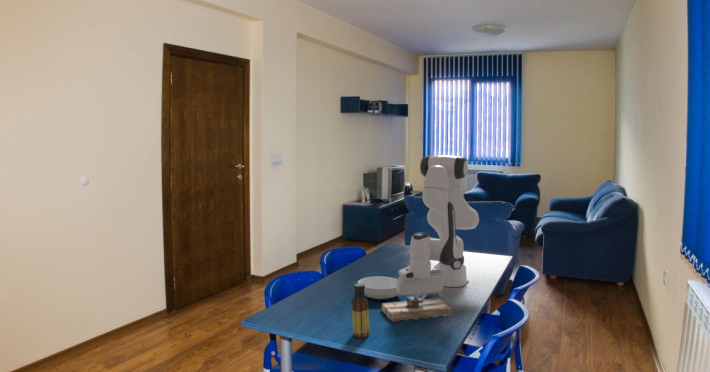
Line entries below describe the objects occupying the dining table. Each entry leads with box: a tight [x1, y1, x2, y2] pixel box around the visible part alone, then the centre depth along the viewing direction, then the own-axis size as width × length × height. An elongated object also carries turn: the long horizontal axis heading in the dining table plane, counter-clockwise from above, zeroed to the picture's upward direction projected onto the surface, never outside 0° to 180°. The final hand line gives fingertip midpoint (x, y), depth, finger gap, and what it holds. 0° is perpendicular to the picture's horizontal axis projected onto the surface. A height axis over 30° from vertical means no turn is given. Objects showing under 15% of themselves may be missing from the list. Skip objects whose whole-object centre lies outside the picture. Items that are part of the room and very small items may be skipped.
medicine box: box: [420, 292, 441, 298], centre depth 243 cm, size 8×4×9 cm, turn 105°
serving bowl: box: [357, 275, 399, 300], centre depth 242 cm, size 21×21×7 cm
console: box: [381, 298, 452, 323], centre depth 220 cm, size 14×26×3 cm, turn 105°
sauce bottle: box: [351, 282, 370, 338], centre depth 196 cm, size 6×6×20 cm
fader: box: [406, 295, 419, 308], centre depth 220 cm, size 6×3×3 cm, turn 15°
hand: (419, 303), depth 220 cm, fingers closed
